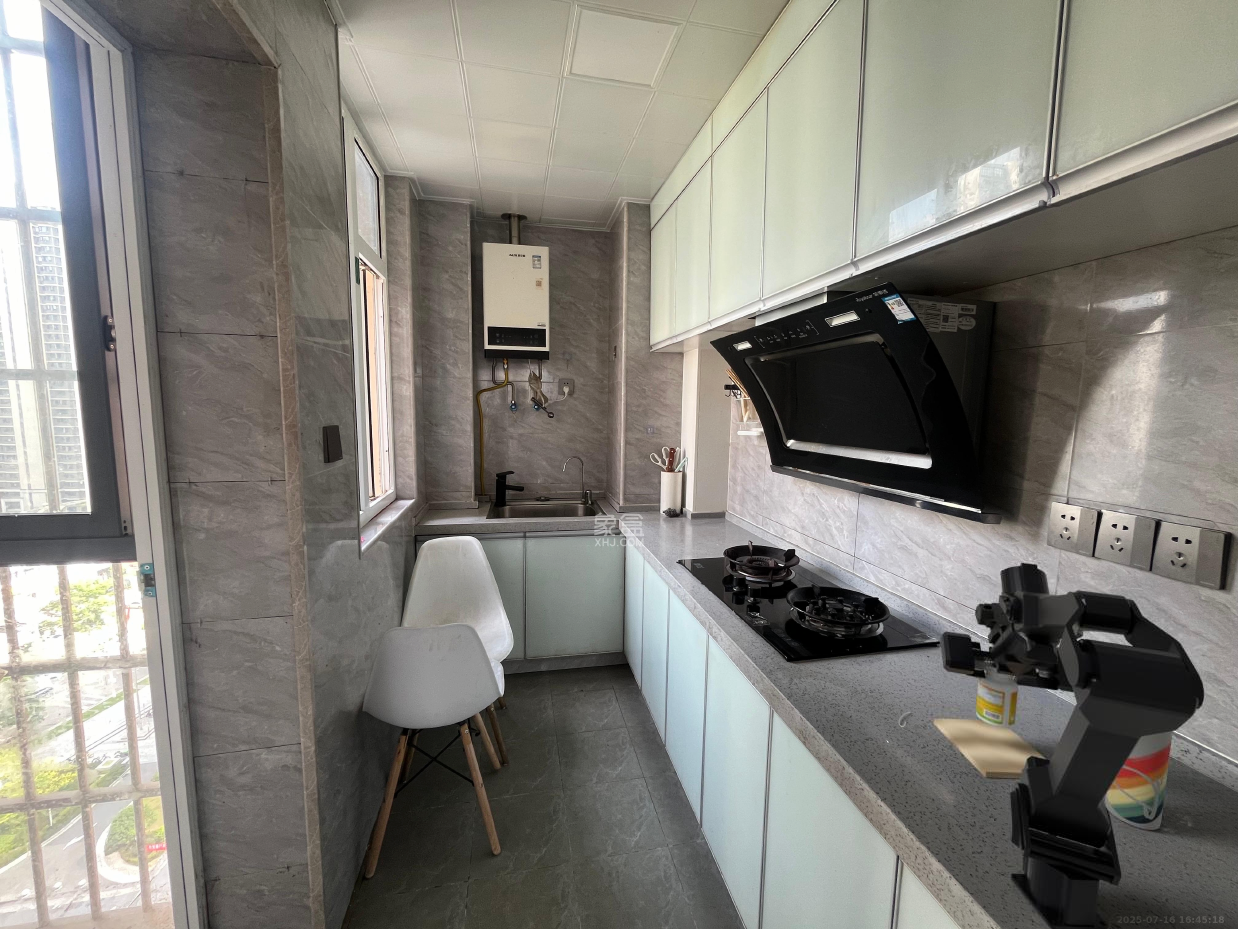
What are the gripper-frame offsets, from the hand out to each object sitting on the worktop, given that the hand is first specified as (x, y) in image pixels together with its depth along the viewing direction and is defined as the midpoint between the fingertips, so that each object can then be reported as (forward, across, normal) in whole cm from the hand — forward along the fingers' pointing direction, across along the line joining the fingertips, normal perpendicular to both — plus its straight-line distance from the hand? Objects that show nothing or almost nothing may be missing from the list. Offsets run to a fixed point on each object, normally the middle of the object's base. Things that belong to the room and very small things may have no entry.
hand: (995, 678), depth 87 cm
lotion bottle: (+1, -14, +17) cm, 22 cm away
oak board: (+8, 0, +9) cm, 12 cm away
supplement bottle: (+4, 0, +6) cm, 7 cm away
